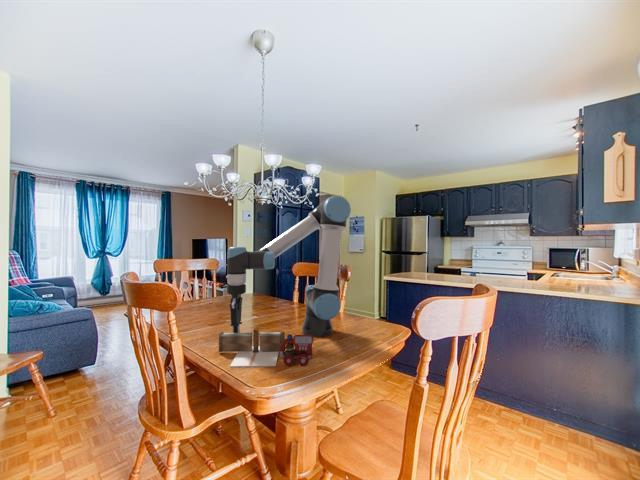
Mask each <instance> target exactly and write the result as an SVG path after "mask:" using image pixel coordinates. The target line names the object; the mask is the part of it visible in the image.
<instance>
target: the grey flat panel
mask: <svg viewBox="0 0 640 480" xmlns="http://www.w3.org/2000/svg"><path fill="white" fill-rule="evenodd" d="M252 346H253V332H240V333H232V332H224V331H222V332H221V331H220V332H219V333H218V353H222V352H224V353H225V352H226V353H227V352H230V353H231V352H232V353H233V352H238V351H252Z"/></svg>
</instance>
